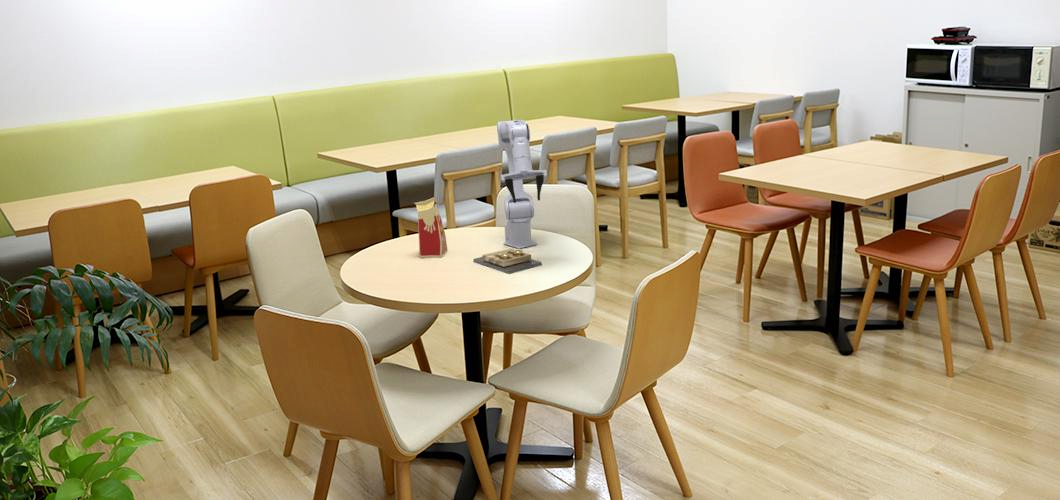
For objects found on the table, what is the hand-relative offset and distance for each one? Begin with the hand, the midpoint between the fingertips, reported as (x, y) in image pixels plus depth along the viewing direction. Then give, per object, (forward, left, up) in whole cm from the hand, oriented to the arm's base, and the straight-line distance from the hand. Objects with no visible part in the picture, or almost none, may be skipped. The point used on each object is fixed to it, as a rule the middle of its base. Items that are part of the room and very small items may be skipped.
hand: (526, 200), depth 284 cm
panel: (-7, -4, -20) cm, 22 cm away
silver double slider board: (-7, -4, -21) cm, 23 cm away
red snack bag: (-36, -15, -22) cm, 45 cm away
